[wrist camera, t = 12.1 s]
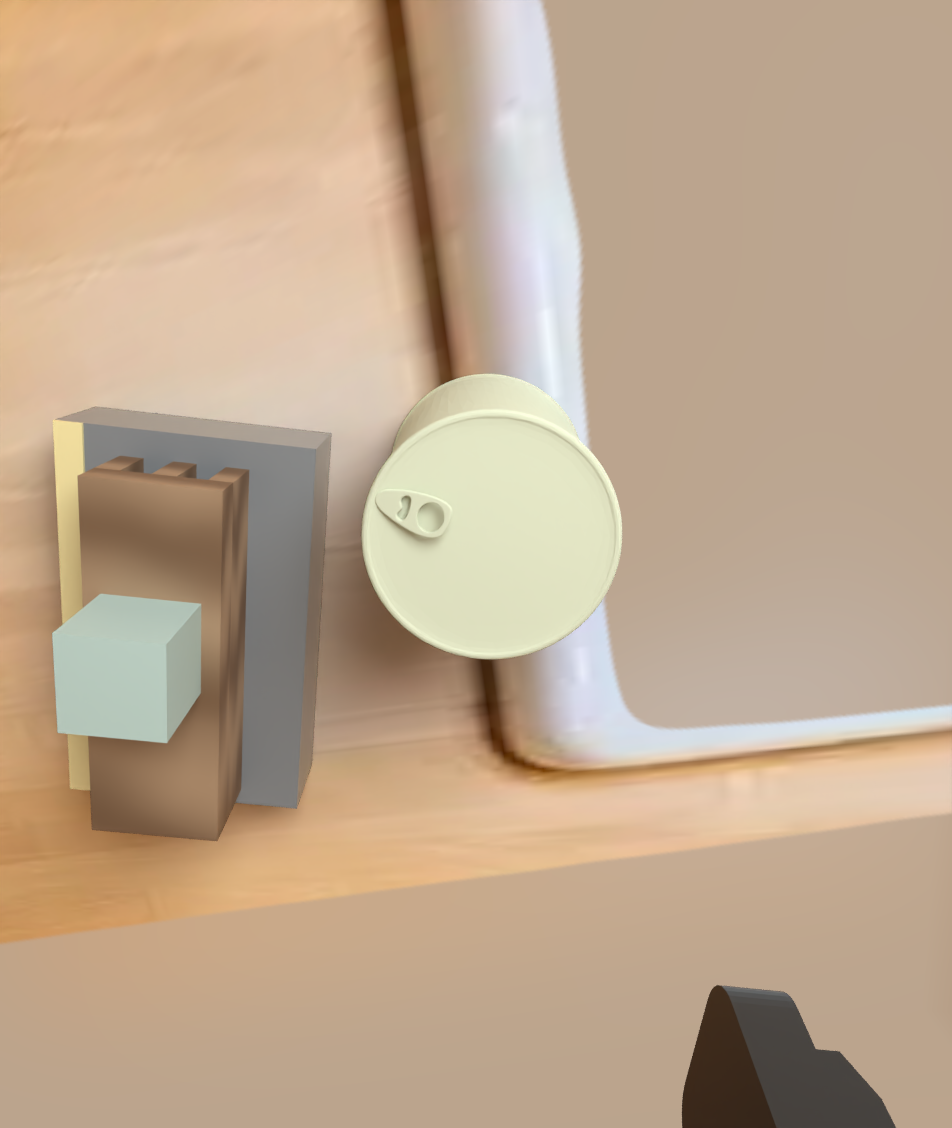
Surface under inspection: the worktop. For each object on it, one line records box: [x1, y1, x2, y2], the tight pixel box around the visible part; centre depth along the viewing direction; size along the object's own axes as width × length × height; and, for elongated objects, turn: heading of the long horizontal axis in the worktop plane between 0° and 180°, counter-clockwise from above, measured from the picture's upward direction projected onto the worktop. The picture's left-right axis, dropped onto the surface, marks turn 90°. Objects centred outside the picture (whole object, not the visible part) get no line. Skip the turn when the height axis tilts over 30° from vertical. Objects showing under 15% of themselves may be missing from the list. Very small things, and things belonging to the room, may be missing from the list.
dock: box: [53, 407, 331, 809], centre depth 40 cm, size 18×11×4 cm, turn 174°
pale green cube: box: [52, 594, 201, 743], centre depth 32 cm, size 4×4×4 cm
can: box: [361, 374, 622, 659], centre depth 34 cm, size 9×9×12 cm
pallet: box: [77, 456, 249, 841], centre depth 36 cm, size 16×6×4 cm, turn 174°
